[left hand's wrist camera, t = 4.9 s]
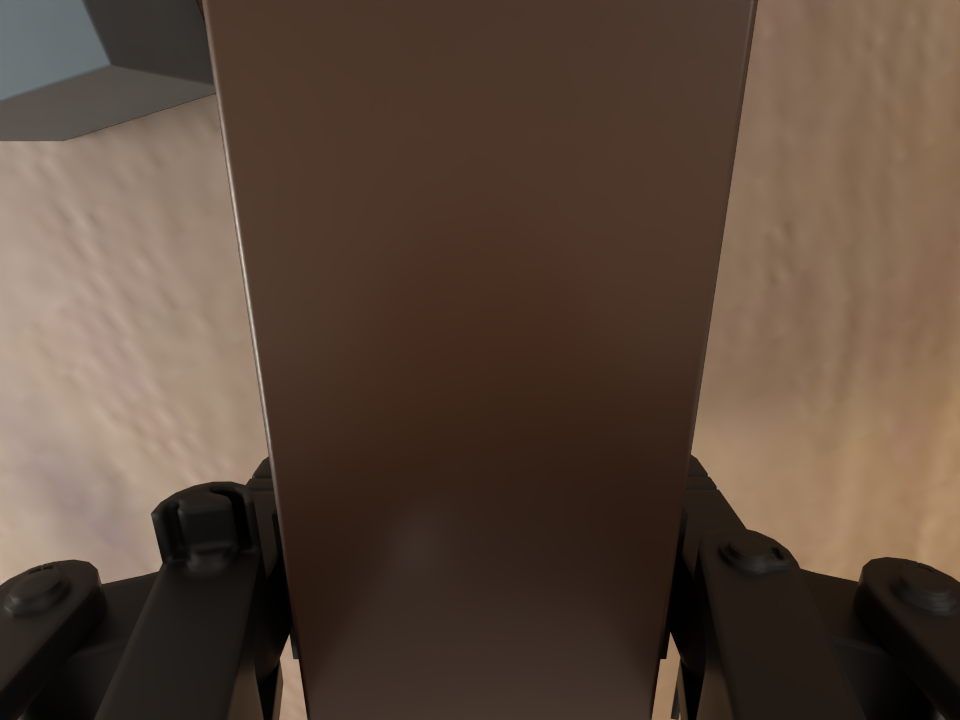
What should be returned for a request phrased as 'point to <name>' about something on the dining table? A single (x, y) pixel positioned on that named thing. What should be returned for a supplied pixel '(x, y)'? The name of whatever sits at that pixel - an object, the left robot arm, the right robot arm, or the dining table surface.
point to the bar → (479, 331)
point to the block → (97, 64)
